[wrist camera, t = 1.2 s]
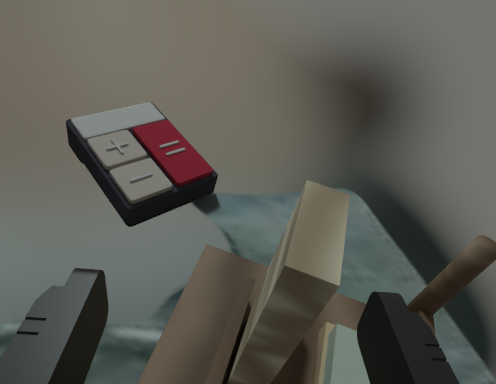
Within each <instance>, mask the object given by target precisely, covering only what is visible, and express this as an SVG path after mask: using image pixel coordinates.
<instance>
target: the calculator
mask: <svg viewBox="0 0 496 384" xmlns="http://www.w3.org/2000/svg"><path fill="white" fill-rule="evenodd" d="M66 127H67V134H68V142H69V146H70V147H71V149H72V150H73V152H74V153H75V155H76V156H77V158H78V159H79V160H80V162H81V163H83V164H85V166H86V167H87V169H88V170H89V172H90V173H91V175H92V176H93V178H94V179H95V180H96V182H97V183H98V185H99V186H100V188H101V189H102V191H103V192H104V194H105V195H106V196H107V198H108V199H109V201H110V202H111V203H112V205H113V207H114V208H115V209H116V211H117V213H118V214H119V215H120V217H121V218H122V220H123V221H124V223H125V224H126V225H127V226H128V227H132V226H135V225H137V224H140V223H142V222H145V221H147V220H150V219H152V218H154V217H157V216H159V215H162V214H164V213H166V212H169V211H171V210H174V209H176V208H178V207H181V206H183V205H186V204H188V203H191V201H192V200H195V199H197V198H200V197H202V196H204V195H207V194H209V193H213V192H214V188H215V184H216V180H217V176H218V174H217V173H216V172H215V171H214V170H213V168H212V167H211V166H210V165H209V164H208V163H207V162H206V161H205V160H204V159H203V158H202V156H201V155H200V154H199V153H198V152H197V151H196V150H195V149H194V148H193V147H192V146H191V144H190V143H189V142H188V141H187V140H186V139H185V138H184V137H183V136H182V135H181V134H180V133H179V132H178V130H177V129H176V128H175V127H174V126H173V125H172V124H171V123H170V122H169V120H168V119H167V118H166V117H165V116H164V115H163V114H162V113H161V112H160V111H159V110H158V109H157V107H156V106H155V105H154V104H153V103H144V104H140V105H135V106H130V107H125V108H120V109H116V110H111V111H107V112H101V113H96V114H91V115H87V116H82V117H77V118H73V119H69V120H67V121H66Z"/></svg>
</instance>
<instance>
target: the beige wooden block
mask: <svg viewBox="0 0 496 384" xmlns="http://www.w3.org/2000/svg"><path fill="white" fill-rule="evenodd" d="M349 198H350V195H348V194H345V193H342V192H340V191H337V190H334V189H331V188H328V187H325V186H323V185H320V184H317V183H314V182H312V181H309V180H307V182H306V184H305V186H304V188H303V191H302V193H301V195H300V197H299V200H298V202H297V204H296V207H295V209H294V211H293V213H292V216H291V218H290V220H289V223H288V225H287V227H286V229H285V232H284V234H283V236H282V239H281V241H280V243H279V245H278V248H277V250H276V252H275V255H274V257H273V259H272V262H271V264H270V266H269V268H268V271H267V273H266V275H265V278H264V280H263V282H262V284H261V287H260V289H259V291H258V294H257V296H256V298H255V300H254V303H253V305H252V307H251V310H250V312H249V314H248V317H247V319H246V321H245V324H244V328H243V331H242V334H241V337H240V340H239V343H238V346H237V349H236V353H235V356H234V359H233V362H232V365H231V368H230V371H229V374H228V378H227V381H226V384H271V382H272V381H273V379H274V378H275V377H276V375H277V374H278V372H279V371H280V370H281V368H282V367H283V365H284V364H285V362H286V361H287V360H288V358H289V357H290V355H291V354H292V353H293V351H294V350H295V348H296V347H297V345H298V344H299V343H300V341H301V340H302V338H303V337H304V336H305V334H306V333H307V331H308V330H309V328H310V327H311V326H312V324H313V323H314V321H315V320H316V319H317V317H318V316H319V314H320V313H321V311H322V310H323V309H324V307H325V306H326V304H327V303H328V302H329V300H330V299H331V297H332V296H333V294H334V293H335V292H336V290H337V289H338V287H339V286H340V277H341V268H342V260H343V251H344V242H345V233H346V224H347V216H348V207H349Z"/></svg>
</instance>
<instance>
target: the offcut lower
mask: <svg viewBox="0 0 496 384" xmlns="http://www.w3.org/2000/svg"><path fill="white" fill-rule="evenodd" d="M334 327H335V325H334V324H331V323H329V322H326V323H325V324H324V326H323V327H322V328H321V330H320V331H319V335H318V342H317V348H316V355H315V362H314V369H313V376H312V382H311V384H322V383H323V375H324V367H325V359H326V351H327V343H328V335H329V333H330V332H331V330H332V329H333V328H334Z"/></svg>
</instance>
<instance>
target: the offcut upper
mask: <svg viewBox="0 0 496 384" xmlns="http://www.w3.org/2000/svg"><path fill="white" fill-rule="evenodd" d="M322 384H370V382H369V378H368V375H367V372H366V368H365V365H364V362H363V358H362V355H361V352H360V348H359V345H358V341H357V331H355V330H353V329H350V328H347V327H345V326H342V325H340V324H336V325H335V327H334V328H333V329H332V330H331V332H330V333H329V335H328V343H327V351H326V359H325V367H324V375H323V383H322Z"/></svg>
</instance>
